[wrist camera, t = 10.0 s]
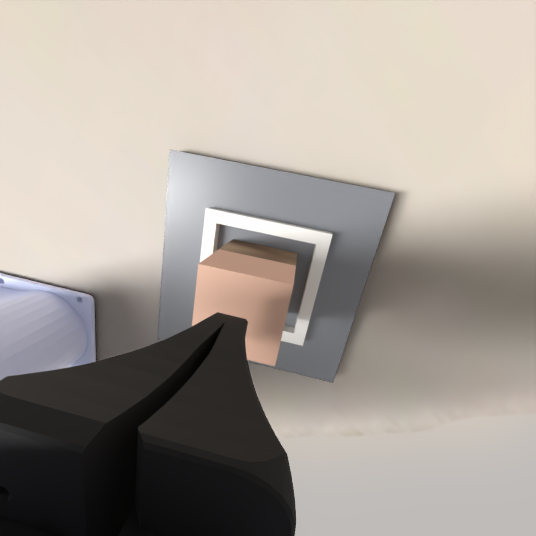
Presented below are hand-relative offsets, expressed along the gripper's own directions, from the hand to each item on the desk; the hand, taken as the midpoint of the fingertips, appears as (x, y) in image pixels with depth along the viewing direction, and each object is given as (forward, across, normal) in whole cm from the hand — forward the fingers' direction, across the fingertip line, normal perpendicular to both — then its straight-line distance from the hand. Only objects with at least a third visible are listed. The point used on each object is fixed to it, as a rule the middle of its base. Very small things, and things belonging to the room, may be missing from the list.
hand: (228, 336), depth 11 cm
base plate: (+9, 0, 0) cm, 9 cm away
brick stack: (+8, 0, 0) cm, 8 cm away
